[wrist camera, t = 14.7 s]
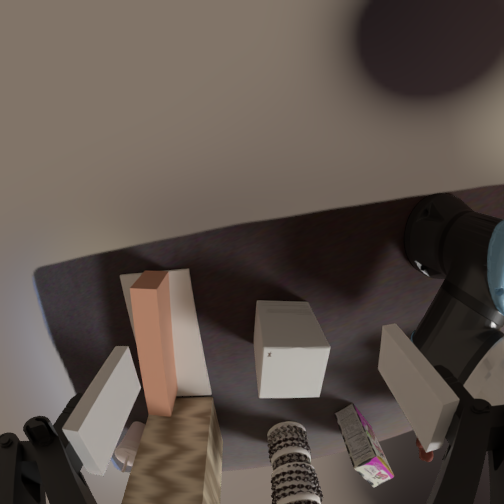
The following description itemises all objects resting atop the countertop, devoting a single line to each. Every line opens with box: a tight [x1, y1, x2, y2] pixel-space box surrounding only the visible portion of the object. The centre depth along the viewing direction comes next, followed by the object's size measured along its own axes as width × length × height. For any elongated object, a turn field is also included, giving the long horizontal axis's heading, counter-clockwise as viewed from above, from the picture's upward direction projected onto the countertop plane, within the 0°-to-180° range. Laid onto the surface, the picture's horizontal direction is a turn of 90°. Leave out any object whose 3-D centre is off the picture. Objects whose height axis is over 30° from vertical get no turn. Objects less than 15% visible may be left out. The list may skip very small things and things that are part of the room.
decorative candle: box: [267, 421, 323, 504], centre depth 50 cm, size 9×9×25 cm
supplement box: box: [254, 300, 331, 398], centre depth 48 cm, size 9×9×15 cm
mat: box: [120, 268, 212, 396], centre depth 55 cm, size 12×26×1 cm, turn 5°
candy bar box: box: [335, 403, 394, 487], centre depth 54 cm, size 11×5×16 cm, turn 35°
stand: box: [121, 397, 223, 504], centre depth 46 cm, size 13×15×30 cm
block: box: [130, 271, 178, 417], centre depth 50 cm, size 4×24×8 cm, turn 178°
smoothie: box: [115, 421, 145, 472], centre depth 54 cm, size 6×6×14 cm
